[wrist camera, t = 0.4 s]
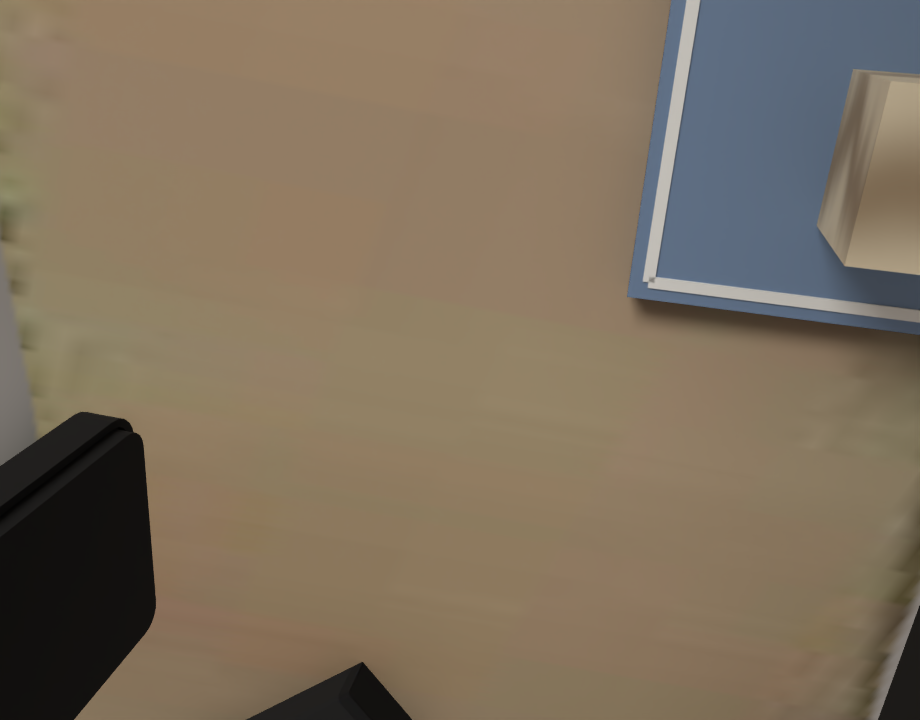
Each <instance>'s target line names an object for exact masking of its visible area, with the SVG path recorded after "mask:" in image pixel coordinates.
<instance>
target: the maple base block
mask: <svg viewBox="0 0 920 720" xmlns="http://www.w3.org/2000/svg"><path fill="white" fill-rule="evenodd" d="M817 227H818V228H819V230H820V231H821V233H822V234H823V236H824V237H825V239H826V240H827V241H828V243H829V244H830V246H831V247H832V249H833V250H834V252H835V253H836V254H837V256H838V257H839V259H840V260H841V262H842V263H843V265H844V266H848V267H856V268H865V269H873V270H882V271H890V272H899V273H907V274H915V275H920V74H909V73H897V72H885V71H872V70H860V69H853V72H852V76H851V80H850V85H849V89H848V93H847V97H846V102H845V106H844V110H843V115H842V119H841V123H840V127H839V132H838V136H837V140H836V145H835V149H834V153H833V157H832V162H831V166H830V170H829V175H828V179H827V183H826V187H825V192H824V196H823V200H822V205H821V209H820V213H819V217H818V222H817Z"/></svg>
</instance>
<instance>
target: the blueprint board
mask: <svg viewBox="0 0 920 720" xmlns="http://www.w3.org/2000/svg"><path fill="white" fill-rule="evenodd" d="M853 69H860V70H872V71H885V72H897V73H909V74H920V0H671V7H670V14H669V20H668V27H667V34H666V40H665V47H664V54H663V60H662V67H661V74H660V80H659V87H658V94H657V100H656V107H655V114H654V120H653V127H652V134H651V140H650V147H649V154H648V160H647V167H646V174H645V180H644V187H643V194H642V200H641V207H640V214H639V220H638V227H637V234H636V240H635V247H634V254H633V261H632V267H631V274H630V281H629V287H628V295H627V297H633V298H640V299H648V300H656V301H663V302H671V303H679V304H686V305H694V306H702V307H709V308H717V309H725V310H732V311H740V312H748V313H755V314H763V315H771V316H778V317H786V318H794V319H801V320H809V321H817V322H824V323H832V324H840V325H847V326H855V327H863V328H870V329H878V330H886V331H893V332H901V333H909V334H916V335H920V275H915V274H907V273H899V272H890V271H882V270H873V269H865V268H856V267H848V266H844V265H843V263H842V262H841V260H840V259H839V257H838V256H837V254H836V253H835V252H834V250H833V249H832V247H831V246H830V244H829V243H828V241H827V240H826V239H825V237H824V236H823V234H822V233H821V231H820V230H819V228H818V227H817V222H818V217H819V213H820V209H821V205H822V200H823V196H824V192H825V187H826V183H827V179H828V175H829V170H830V166H831V162H832V157H833V153H834V149H835V145H836V140H837V136H838V132H839V127H840V123H841V119H842V115H843V110H844V106H845V102H846V97H847V93H848V89H849V85H850V80H851V76H852V72H853Z"/></svg>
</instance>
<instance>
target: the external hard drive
mask: <svg viewBox="0 0 920 720" xmlns="http://www.w3.org/2000/svg"><path fill="white" fill-rule="evenodd" d="M247 720H412V719H411V718H410V717H409V715H408V714H407V713H406V712H405V711H404V710H403V708H402V707H401V706H400V705H399V704H398V703H397V701H396V700H395V699H394V698H393V697H392V696H391V694H390V693H389V692H388V691H387V690H386V689H385V687H384V686H383V685H382V684H381V683H380V682H379V680H378V679H377V678H376V677H375V676H374V675H373V673H372V672H371V671H370V670H369V669H368V668H367V666H366V665H365V664H364V663H363V662H361V663H359V664H357V665H355V666H353V667H351V668H349V669H347V670H345V671H343V672H341V673H339V674H337V675H335V676H333V677H331V678H329V679H327V680H325V681H323V682H321V683H319V684H317V685H315V686H313V687H311V688H309V689H307V690H305V691H303V692H301V693H299V694H297V695H295V696H293V697H291V698H289V699H287V700H285V701H283V702H281V703H279V704H277V705H275V706H273V707H271V708H269V709H267V710H265V711H263V712H261V713H259V714H257V715H255V716H253V717H251V718H249V719H247Z"/></svg>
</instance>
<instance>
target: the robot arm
mask: <svg viewBox="0 0 920 720" xmlns="http://www.w3.org/2000/svg"><path fill="white" fill-rule="evenodd" d="M155 609H156V596H155V584H154V571H153V559H152V546H151V534H150V521H149V509H148V496H147V483H146V471H145V458H144V446H143V441H142V438H141V437H140V435H139V434H137V433H134V432H133V428H132V427H131V425H130V423H129V422H128V421H126V420H125V419H121V418H115V417H110V416H105V415H99V414H94V413H89V412H80V413H77V414H75V415H73V416H72V417H71V418H69V419H68V420H66V421H65V422H63V423H62V424H60V425H59V426H58V427H56V428H55V429H53V430H52V431H50V432H49V433H47V434H46V435H45V436H43V437H42V438H40V439H39V440H37V441H36V442H34V443H33V444H32V445H30V446H29V447H27V448H26V449H24V450H23V451H21V452H20V453H19V454H17V455H16V456H14V457H13V458H11V459H10V460H8V461H7V462H6V463H4V464H3V465H1V466H0V720H74V719H75V718H76V716H77V715H78V714H79V713H80V712H81V710H82V709H83V708H84V707H85V706H86V704H87V703H88V702H89V701H90V700H91V698H92V697H93V696H94V695H95V694H96V692H97V691H98V690H99V689H100V688H101V686H102V685H103V684H104V683H105V682H106V680H107V679H108V678H109V677H110V676H111V674H112V673H113V672H114V671H115V669H116V668H117V667H118V666H119V665H120V663H121V662H122V661H123V660H124V659H125V657H126V656H127V655H128V654H129V653H130V651H131V650H132V649H133V648H134V647H135V645H136V644H137V643H138V642H139V641H140V639H141V638H142V637H143V636H144V635H145V633H146V632H147V630H148V629H149V627H150V625H151V623H152V620H153V617H154V614H155ZM878 720H920V606H919V609H918V612H917V614H916V617H915V620H914V623H913V625H912V628H911V631H910V633H909V636H908V639H907V642H906V644H905V647H904V650H903V653H902V656H901V658H900V661H899V664H898V666H897V669H896V672H895V675H894V677H893V680H892V683H891V686H890V688H889V691H888V694H887V697H886V700H885V702H884V705H883V707H882V710H881V713H880V716H879V718H878Z"/></svg>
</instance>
